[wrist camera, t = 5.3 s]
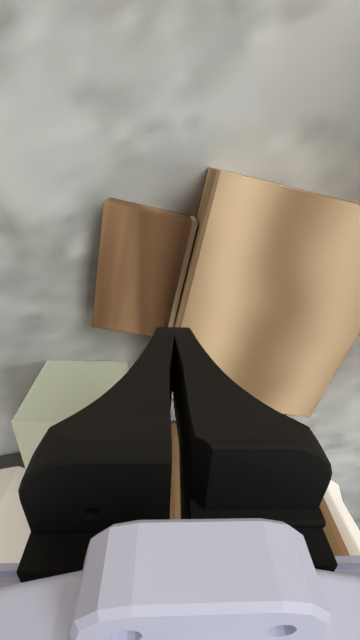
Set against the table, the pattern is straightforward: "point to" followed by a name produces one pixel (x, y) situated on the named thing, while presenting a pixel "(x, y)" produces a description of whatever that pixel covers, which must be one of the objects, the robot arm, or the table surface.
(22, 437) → the sage cube
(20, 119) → the table surface
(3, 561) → the wine bottle
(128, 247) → the walnut block
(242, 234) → the oak step
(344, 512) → the perfume bottle
